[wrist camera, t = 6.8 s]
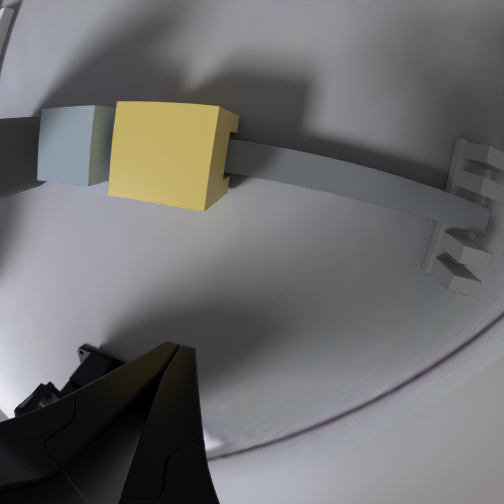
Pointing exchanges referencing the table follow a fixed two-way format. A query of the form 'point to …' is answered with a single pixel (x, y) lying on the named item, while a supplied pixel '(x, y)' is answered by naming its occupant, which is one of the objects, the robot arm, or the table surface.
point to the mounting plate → (4, 24)
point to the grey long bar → (247, 168)
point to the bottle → (19, 154)
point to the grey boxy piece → (458, 240)
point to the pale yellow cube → (170, 153)
